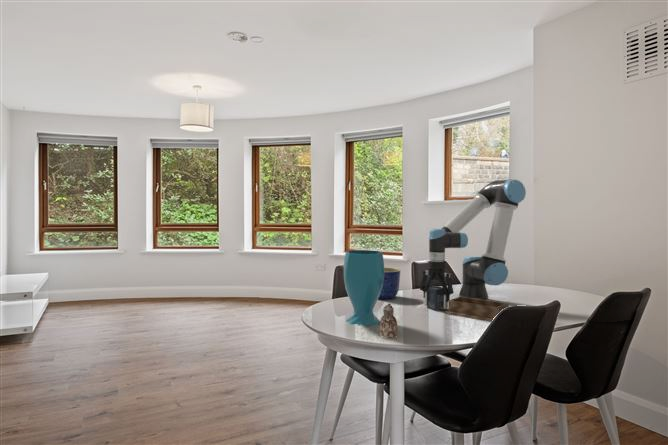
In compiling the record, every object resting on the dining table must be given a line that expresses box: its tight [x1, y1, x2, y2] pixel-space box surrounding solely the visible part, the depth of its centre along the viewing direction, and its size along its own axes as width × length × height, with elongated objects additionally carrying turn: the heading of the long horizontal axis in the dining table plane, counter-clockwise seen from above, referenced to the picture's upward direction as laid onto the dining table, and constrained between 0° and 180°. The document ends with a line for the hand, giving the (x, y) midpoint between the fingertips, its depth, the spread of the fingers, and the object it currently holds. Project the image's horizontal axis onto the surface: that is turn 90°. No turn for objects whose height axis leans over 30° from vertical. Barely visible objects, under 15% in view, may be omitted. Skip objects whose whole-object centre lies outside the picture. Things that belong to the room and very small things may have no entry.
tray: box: [444, 296, 509, 322], centre depth 207 cm, size 25×16×6 cm, turn 50°
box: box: [426, 285, 446, 312], centre depth 218 cm, size 8×6×11 cm
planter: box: [378, 266, 401, 300], centre depth 244 cm, size 17×17×15 cm
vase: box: [343, 249, 385, 326], centre depth 194 cm, size 17×17×30 cm
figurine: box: [378, 303, 399, 338], centre depth 173 cm, size 7×7×12 cm
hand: (436, 306), depth 218 cm, fingers closed on box, 9 cm apart
